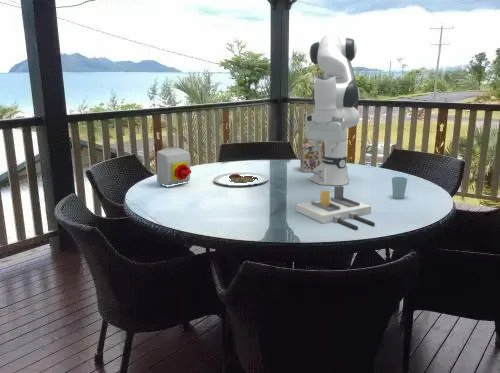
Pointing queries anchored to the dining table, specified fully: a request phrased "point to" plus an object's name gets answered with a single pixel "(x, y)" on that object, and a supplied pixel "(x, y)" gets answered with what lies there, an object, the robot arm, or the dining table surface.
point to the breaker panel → (332, 209)
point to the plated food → (241, 178)
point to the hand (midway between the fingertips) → (325, 151)
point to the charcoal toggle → (338, 192)
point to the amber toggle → (325, 198)
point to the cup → (399, 187)
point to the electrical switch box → (173, 166)
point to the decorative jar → (310, 157)
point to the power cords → (352, 216)
